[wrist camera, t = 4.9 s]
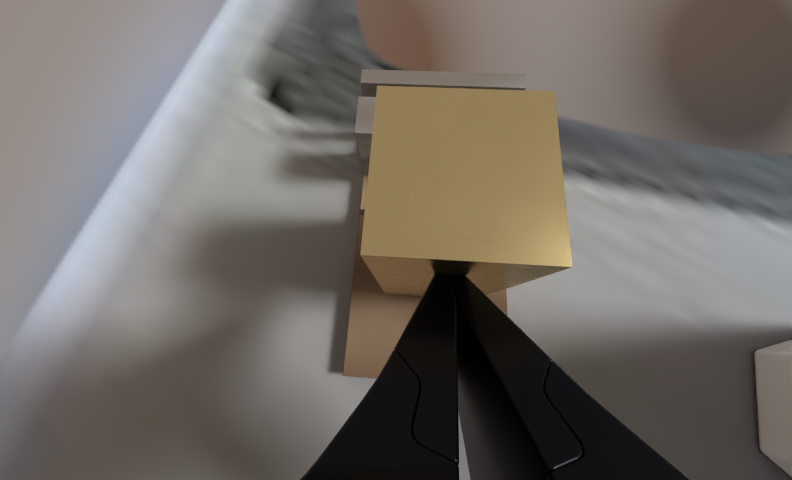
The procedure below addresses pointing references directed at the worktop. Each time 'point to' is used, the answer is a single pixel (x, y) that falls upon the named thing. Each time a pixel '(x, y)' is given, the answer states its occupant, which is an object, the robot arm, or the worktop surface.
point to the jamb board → (370, 307)
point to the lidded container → (775, 402)
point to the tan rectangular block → (464, 188)
